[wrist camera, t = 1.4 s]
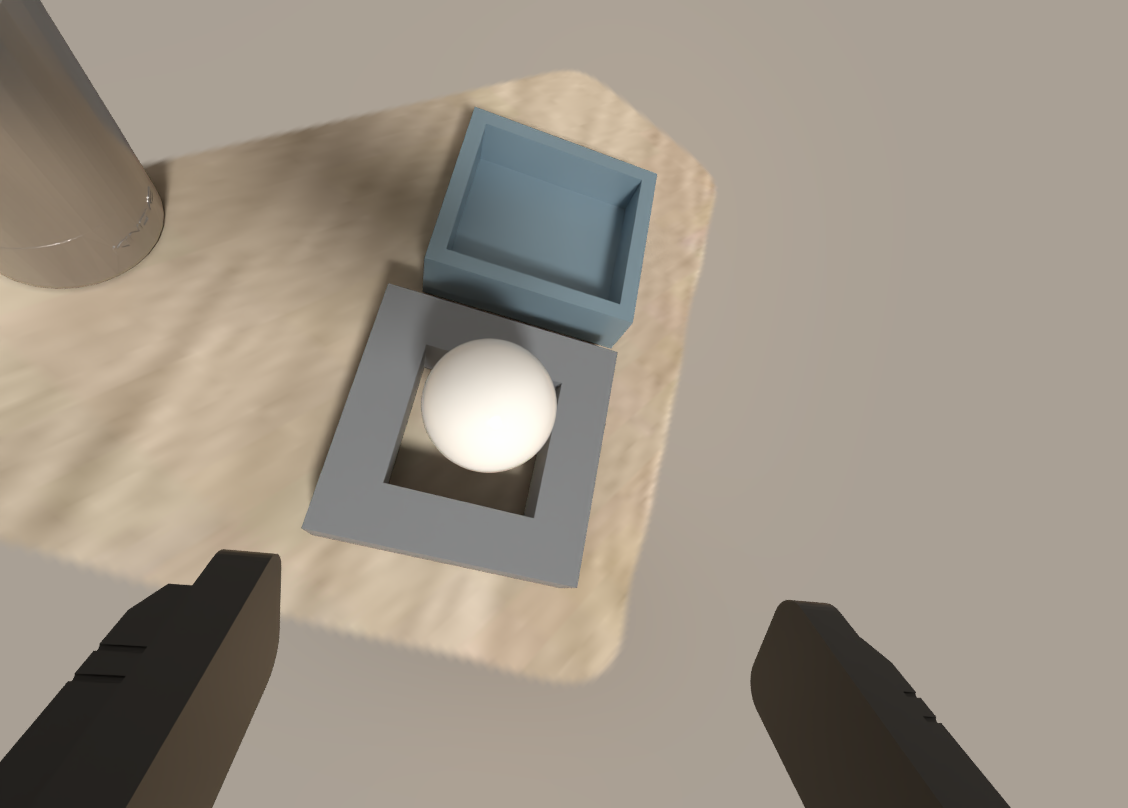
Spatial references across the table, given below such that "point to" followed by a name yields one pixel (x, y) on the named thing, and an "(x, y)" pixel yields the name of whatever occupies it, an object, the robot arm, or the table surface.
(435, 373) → the lightbulb
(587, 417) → the socket block
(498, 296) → the parts tray
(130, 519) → the table surface
